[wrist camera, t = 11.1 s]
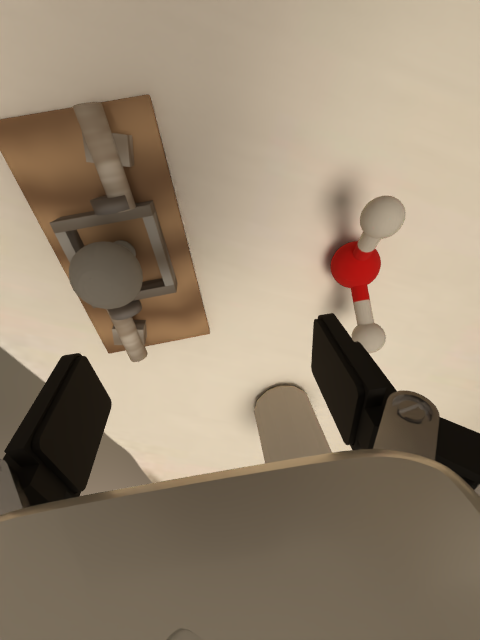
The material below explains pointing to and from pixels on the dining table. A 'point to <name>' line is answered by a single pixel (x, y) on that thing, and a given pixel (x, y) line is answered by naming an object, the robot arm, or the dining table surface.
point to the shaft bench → (111, 210)
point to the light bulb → (106, 274)
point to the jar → (288, 425)
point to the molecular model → (367, 265)
